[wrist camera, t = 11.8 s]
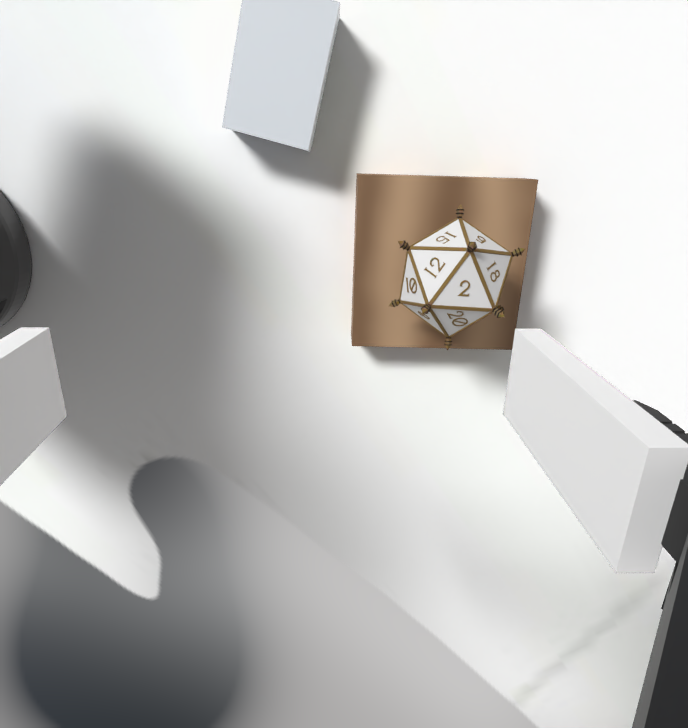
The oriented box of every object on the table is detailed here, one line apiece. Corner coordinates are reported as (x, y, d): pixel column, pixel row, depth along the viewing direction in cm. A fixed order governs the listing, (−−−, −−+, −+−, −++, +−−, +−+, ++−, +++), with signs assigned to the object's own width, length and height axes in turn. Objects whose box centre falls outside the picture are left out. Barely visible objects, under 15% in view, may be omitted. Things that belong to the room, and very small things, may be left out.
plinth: (351, 334, 45) (352, 345, 42) (356, 173, 40) (358, 174, 38) (501, 338, 45) (512, 349, 43) (524, 178, 41) (538, 179, 38)
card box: (233, 130, 40) (222, 127, 36) (255, -7, 36) (246, -27, 33) (310, 151, 40) (307, 150, 36) (339, 18, 37) (339, 2, 33)
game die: (458, 263, 44) (549, 330, 38) (374, 315, 42) (454, 393, 36) (453, 166, 37) (563, 229, 31) (352, 223, 35) (447, 301, 29)
